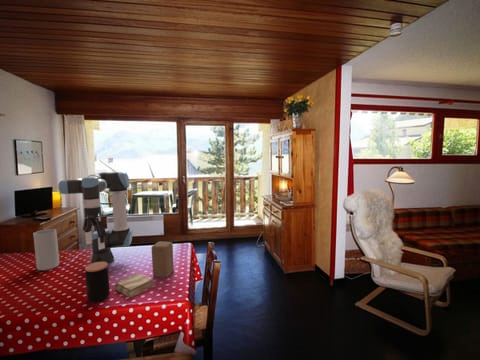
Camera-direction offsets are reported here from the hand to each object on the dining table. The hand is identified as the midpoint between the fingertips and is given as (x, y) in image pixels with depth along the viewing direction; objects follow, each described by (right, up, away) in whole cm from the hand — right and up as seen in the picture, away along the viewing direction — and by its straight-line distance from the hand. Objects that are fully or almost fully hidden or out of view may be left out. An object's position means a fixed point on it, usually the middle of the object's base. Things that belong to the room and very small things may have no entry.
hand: (95, 246), depth 133 cm
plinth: (+16, -27, +13) cm, 34 cm away
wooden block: (+27, -26, +29) cm, 47 cm away
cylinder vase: (-57, -26, +42) cm, 75 cm away
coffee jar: (0, -29, +3) cm, 29 cm away
